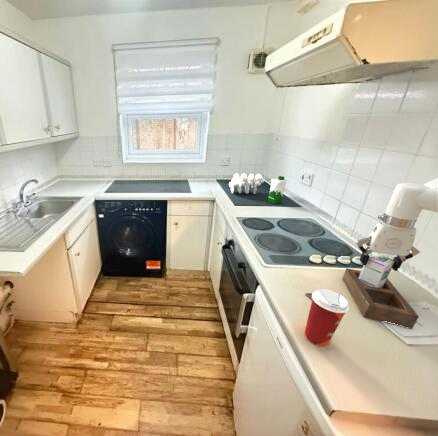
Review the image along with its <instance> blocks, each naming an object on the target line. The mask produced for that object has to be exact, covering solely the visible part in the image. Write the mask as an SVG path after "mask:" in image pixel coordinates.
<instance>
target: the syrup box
mask: <svg viewBox="0 0 438 436" xmlns="http://www.w3.org/2000/svg"><path fill="white" fill-rule="evenodd" d="M369 256H370V257H369V259H368V262H367V264H366V265H362V268H361V270H360V271H361V273H360V276H359V278H358V279H359V280H360V282H361V284H362V285H367V286H372V287H377V288H382V289H383V286H384V284H385V282H386V280H387V279H389V276H390V273H391V271H392V270H393V269H392V267H393V264H394V262H395V261H394V260H393V259H392V258H390V257H388V256H385V255H382V254H380V253H374V254H370V255H369Z"/></svg>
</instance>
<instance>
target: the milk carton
mask: <svg viewBox="0 0 438 436" xmlns="http://www.w3.org/2000/svg"><path fill="white" fill-rule="evenodd" d="M287 182H288V180H286V179H285V176H284V175H283V176H282V175H278V177H277V178H271V179H270V189H269V194H268V197H267V201H266V202H267V203H269V204H272V205H274V206H275V205H279V204H280V205H281V204H282V203H283V202H282V201H283V197H284V192H285V189H286V188H285V187H286V184H287Z"/></svg>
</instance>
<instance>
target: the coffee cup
mask: <svg viewBox="0 0 438 436" xmlns="http://www.w3.org/2000/svg"><path fill="white" fill-rule="evenodd" d="M312 293H313V294H312V299H311V303H310V307H309V311H308V315H307V319H306V323H305V327H304V337H305V338H306V340H307V341H308V342H309V343H312V345H315V346H318V347H327V346H328V345H329V343H330V341H331V340H332V338H333V336H334V334H335V332H336V331H337V329H338V327H339V326H340V324H341V322H342V319H343V318H344V315H345V314H346V313H348V312H349V310H350V307H349V302H348V300H347V298H345V296H344V295H342V294H341V293H338V292H336V291H334V290H331V289H326V288H319V289H317V290H315V291H314V292H312Z"/></svg>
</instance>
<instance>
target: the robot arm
mask: <svg viewBox="0 0 438 436" xmlns="http://www.w3.org/2000/svg"><path fill="white" fill-rule="evenodd" d="M422 210H425V211H429V212H433V213H438V177H437V178H434V179H432V180H430V181H427V182H426V183H424V184H423V183H416V182H400V183H398V184H396V186H395V188H394V189H393V192H392V195H391V196H390V199H389V202H388V204H387V207H386V209H385V211H384V213H383V214H381V215H379V214H378V216H377V220H379V221H378V222H377V223H376V224H375V226H374V227H373V229H372V230H371V232H370V234H369V235H368V236H367V237H365V238H362V239H358V240H355V243H356V245H357V248H358V249H359V250H360V251H361V255H360V257H359V262H360V264H361V265H362V266H364V265H366V264H367V262H368V259H369V257H370V256H371V254H372V253H377V254H384V255H391V256H394V257H393V259H392V260H394V261H395V262H394V264H393V267H392V269H391V270H393V271H395V272H398V271H399V269H401V267H402V264H403V263H404V262H406V261H407V260H409V259H412V258H414V256H417V255H419V254H420V253H421V251H420V250H419V249H417V248H416V247H415V246H413V245H414V243H415V239H416V235H417V228H416V227H415V225H416V223H417V221H418V219H419V217H420V215H421V213H422ZM365 244H366V246H364V245H365Z"/></svg>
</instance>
